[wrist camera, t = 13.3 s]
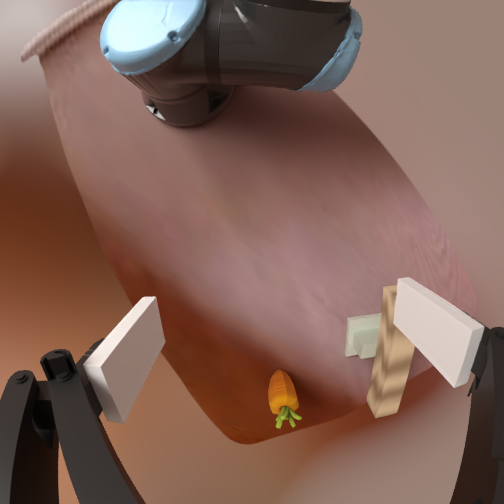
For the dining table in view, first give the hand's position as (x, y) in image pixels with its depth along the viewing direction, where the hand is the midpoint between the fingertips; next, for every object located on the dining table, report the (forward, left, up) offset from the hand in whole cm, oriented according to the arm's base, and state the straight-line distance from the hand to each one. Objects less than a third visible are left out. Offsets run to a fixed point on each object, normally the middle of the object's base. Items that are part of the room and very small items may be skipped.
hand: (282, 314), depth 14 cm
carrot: (+27, +2, -32) cm, 42 cm away
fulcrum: (+21, +21, -32) cm, 43 cm away
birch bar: (+21, +21, -26) cm, 39 cm away
